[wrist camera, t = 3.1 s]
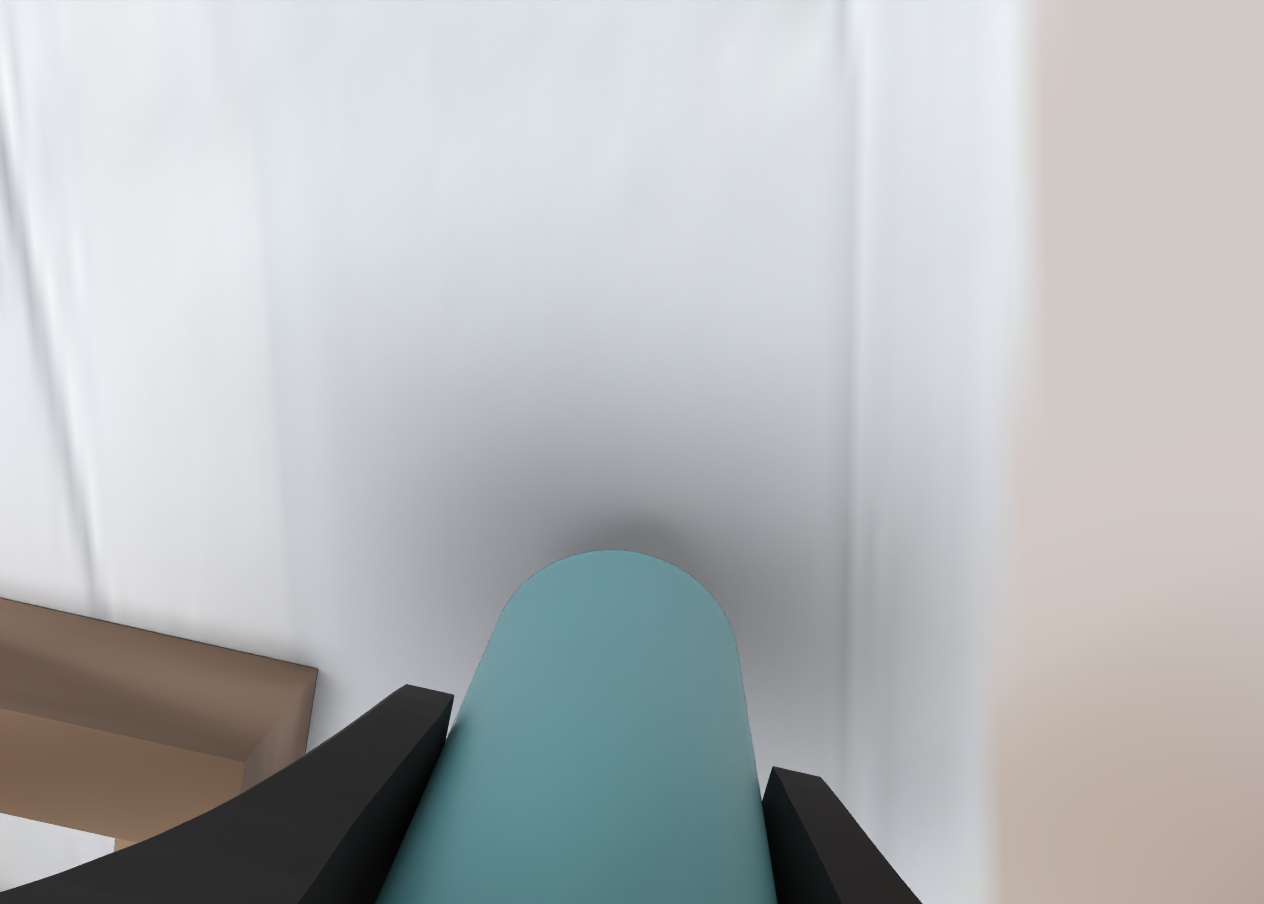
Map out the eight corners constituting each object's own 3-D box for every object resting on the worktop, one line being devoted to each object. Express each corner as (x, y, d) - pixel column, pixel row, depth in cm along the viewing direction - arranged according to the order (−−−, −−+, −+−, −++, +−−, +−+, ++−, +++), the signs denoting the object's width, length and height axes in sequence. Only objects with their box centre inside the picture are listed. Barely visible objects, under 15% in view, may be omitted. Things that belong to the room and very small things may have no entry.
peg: (704, 800, 15) (768, 1836, 5) (469, 748, 15) (104, 1698, 5) (767, 582, 14) (977, 1368, 4) (515, 524, 14) (168, 1193, 4)
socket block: (263, 1029, 22) (190, 1174, 19) (-140, 942, 22) (-286, 1072, 19) (317, 669, 20) (244, 762, 16) (-137, 567, 20) (-306, 640, 16)
